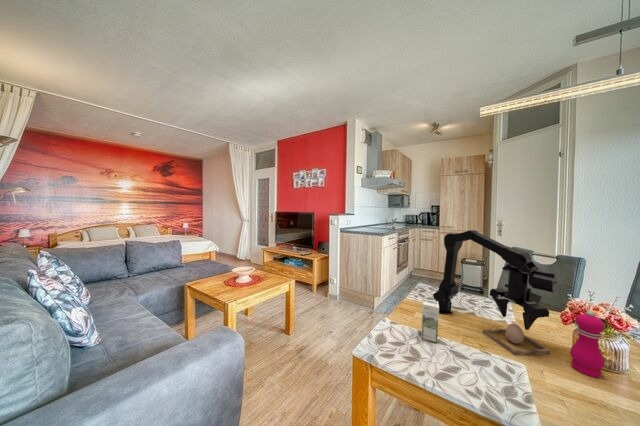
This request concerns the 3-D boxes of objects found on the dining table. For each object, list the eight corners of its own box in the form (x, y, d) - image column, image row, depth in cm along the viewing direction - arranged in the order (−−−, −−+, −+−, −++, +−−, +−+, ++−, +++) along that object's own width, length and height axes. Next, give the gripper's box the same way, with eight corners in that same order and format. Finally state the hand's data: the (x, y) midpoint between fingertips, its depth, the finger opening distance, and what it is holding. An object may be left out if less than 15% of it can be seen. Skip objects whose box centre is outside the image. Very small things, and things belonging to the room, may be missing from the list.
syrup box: (436, 335, 90) (438, 300, 89) (437, 343, 85) (439, 306, 84) (421, 331, 93) (422, 297, 92) (421, 339, 87) (422, 303, 87)
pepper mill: (591, 365, 75) (596, 307, 74) (610, 381, 68) (616, 318, 67) (563, 360, 77) (567, 304, 76) (579, 375, 70) (584, 314, 69)
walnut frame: (514, 355, 79) (515, 352, 79) (482, 332, 93) (482, 329, 93) (550, 353, 80) (550, 350, 80) (513, 331, 94) (513, 328, 94)
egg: (504, 342, 87) (505, 324, 86) (505, 336, 90) (506, 319, 90) (523, 348, 83) (524, 329, 83) (523, 342, 87) (524, 324, 86)
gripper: (565, 293, 77) (561, 336, 78) (513, 275, 96) (511, 310, 96) (536, 293, 76) (532, 337, 77) (489, 275, 95) (487, 311, 95)
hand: (514, 322), depth 86 cm, fingers open, 9 cm apart
